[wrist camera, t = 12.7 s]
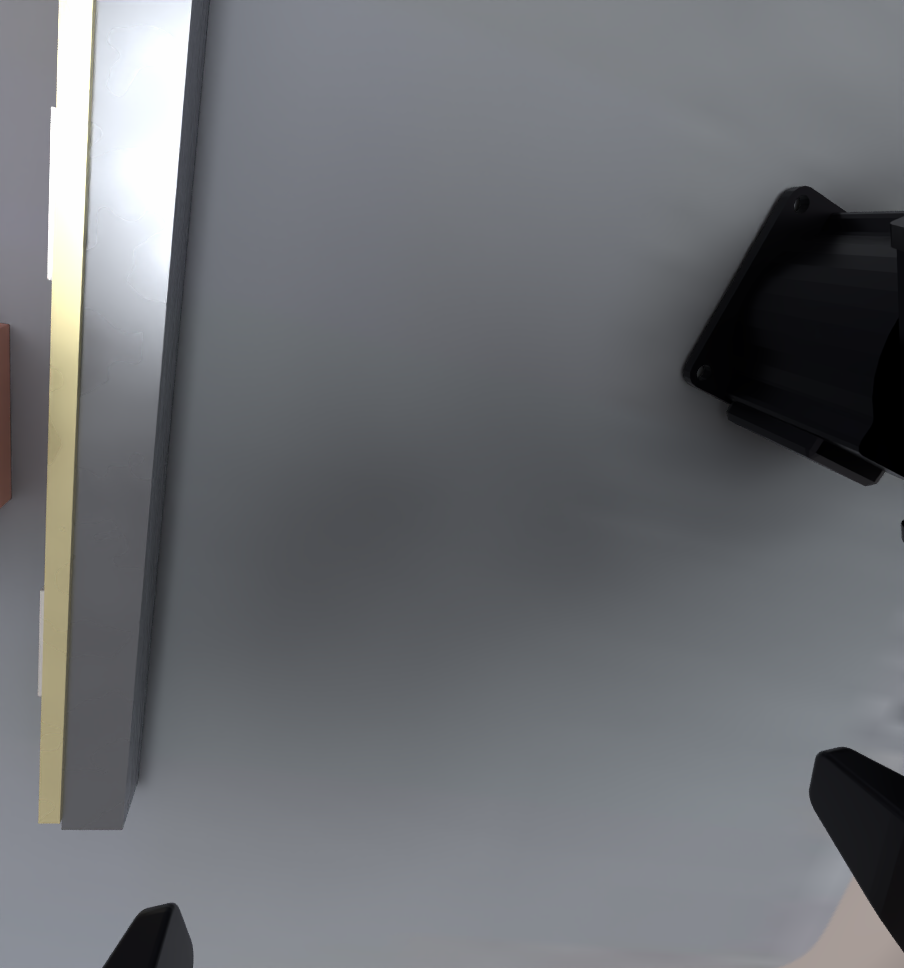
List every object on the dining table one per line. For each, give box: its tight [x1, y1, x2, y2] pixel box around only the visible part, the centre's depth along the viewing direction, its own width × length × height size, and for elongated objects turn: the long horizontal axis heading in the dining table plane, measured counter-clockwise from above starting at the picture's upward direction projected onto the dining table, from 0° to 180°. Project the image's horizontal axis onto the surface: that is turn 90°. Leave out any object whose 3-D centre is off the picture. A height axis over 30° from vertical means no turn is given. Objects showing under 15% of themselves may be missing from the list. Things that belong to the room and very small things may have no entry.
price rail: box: [38, 0, 210, 830], centre depth 17 cm, size 3×26×2 cm, turn 167°
